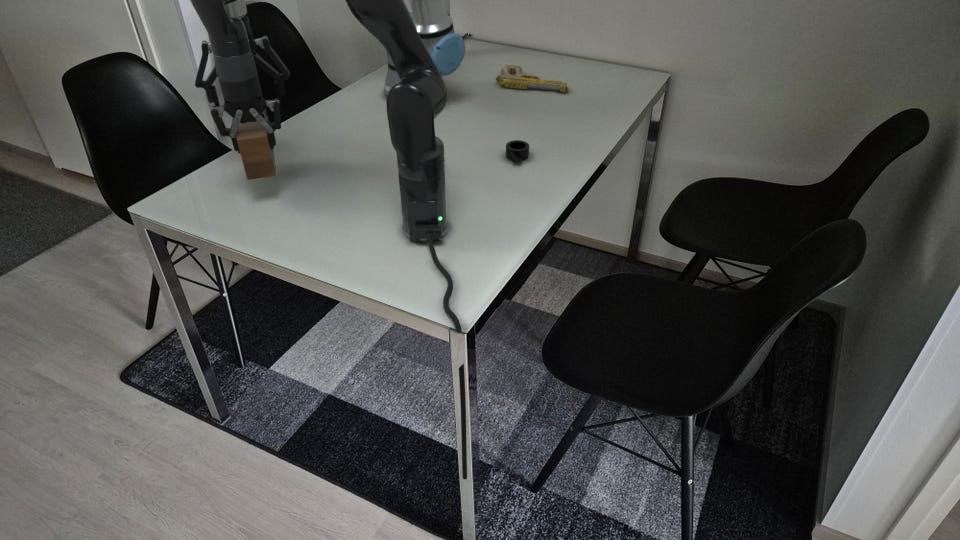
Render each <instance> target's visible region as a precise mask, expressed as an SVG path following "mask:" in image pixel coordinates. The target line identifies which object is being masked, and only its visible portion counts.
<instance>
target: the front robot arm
mask: <svg viewBox="0 0 960 540" xmlns="http://www.w3.org/2000/svg"><path fill="white" fill-rule="evenodd" d="M189 1H190V3H191V4H192V7H193V9H194V10H195V12H196V14H197V16H198V18H199V20H200V22H201V23H202V25H203V27H204V29H205V30H206V32H207V34H208V39H209V42H210V43H211V47H212V55H213V61H214V66H215V67H216V73H217V78H218V82H219V86H220V90H221V93H222V98H223V101H224V102H223V104H222V105H220V106H218V107H216V106H215V105H212V106H211V107H210V115H211V117H212V120H213V122H214V123H215V127H216V128H217V130H218V133H219V135H220V137H222V138H223V137H229V138H230V140H231V144H232V146H233V147H232V148H233V150H234V152H237V153H238V154H240V150H239V146H238V143H237V130H238V128H239V124H240V123H241V124H242V123H247V122H257V121H258V122H259V123H260V124H261V126H263V127H264V128H265V129H266V131H267V135H268V140H269V144H270V148H271V149H274V150H275V147H276V146H277V139H276V136H275V131H277V130H280V129H282V118H281V111H280V103H279V99H278V98H277V97H275V98H273V99H266V98H265V97H264V96H263V91H262V88H261V84H260V78H259V75H258V68H257V66H256V65H257V64H256V63H255V61H254V58H253V55H252V52H251V49H250V45H249V40H248V36H247V32H246V28H245V25H244V23H243V21H242V20H240V19H239V18H236V17H229V16H228V14H227V13H226V10H225V7H224V6H225V5H227V4H230V3H232V2H235V1H237V0H189ZM344 1H345V3H346V5H347V8H349V11H350V12H351V14H352V15H353V17H354V18H355V19H356V20H357V21H358V22H359V23H360V25H362V26H363V27H364V28H365V29H366V30H367V31H368V32H369V33H370V34H371V35H372V36H373V37H374V38H375V39H376V40H377V41H378V42H379V43H380V44H381V46H382V47H383V48H384V49H385V51H386V50H387V51H386V53H387V52H388V54H389V55H390V57H391V59H392V61H393V63H394V66H395V68H396V70H397V73H398V75H399V78H400V80H399V81H398V82H397V83H396V84H394V85H393V86H392V87H391V89H390V90H389V92H388V95H387V98H386V115H387V124H388V129H389V137H390V141H391V145H392V147H393V149H394V151H395V153H396V154H395V155H396V163H397V176H398V185H399V197H400V208H401V218H402V219H401V220H402V233H403V234H404V236H405V237H406V238H407V239H408V240H409V242H410V243H427V245H428V249H429V252H430V256H431V258H432V260H433V263H434V266H436V268H437V270H439V271H440V273H441V274H442V275H443V276H444V277H445V279H446V282H447V287H446V290H445V293H444V296H443V300H442V304H443V310H444V312H445V314H447V315H448V317H449V318H450V319H451V321H452V323H453V325H454V328H455V332H456V333H457V334H461V333H462V330H463V329H462V326H461V322H460V320H459V318H458V316H457V315H456V314H455V312H453V310H452V309H451V308H450V305H449V300H450V297H451V294H452V291H453V288H454V283H453V277H452V276H451V274H450V273H449V272H448V271H447V269H445V267H444V266H443V265H442V263H441V262H440V260H439V258H438V255H437V252H436V249H435V245H434V242H435V243H436V242H440V241H441V239H443V237H444V236H446V234H447V232H448V229H449V227H448V225H449V224H448V214H447V190H446V188H447V187H446V166H445V165H446V164H445V163H446V162H445V145H444V142H443V140H442V139H441V138H440V137H438V136H436V129H435V128H436V127H435V119H436V118H438V116H439V115H440V114H441V113H442V112H443V111H444V109H446V107H447V104H448V100H449V93H448V88H447V85H446V82H445V80H444V78H443V76H441V74H440V72H439V70H438V68H437V67H436V65H435V63H434V61H433V60H432V58H431V56H430V54H429V52H428V51H427V49H426V47H425V45H424V43H423V42H422V40H421V38H420V36H419V34H418V31H417V29H416V27H415V24H414V22H413V20H412V17H411V15H410V13H409V12H410V11H409V8H408V6H407V5H406V3H405V0H344ZM267 107H268V108H269V111H271V112H273V115H274V116H273V117H274V121H273V122H271V121H270V119H269V118H268V119H269V120H268V119H267V117H266V116H265V115H264V113H263V112H264V110H265V108H266V109H267ZM224 112H226V114H228V115H229V116H230V117H231V118H232V120H231V125H230V127H227V126H226V124H225V122H224V119H223V117H224ZM465 375H466V374H465V363H464V362H463V363H462V364H461V365H460V366H459V367H458V381H459V399H460V403H459V404H460V430H461V432H460V434H461V437H460V438H461V439H460V440H461V472H462V474H461V475H462V479H463V480H467V479H468V451H467V450H468V449H467V448H468V447H467V446H468V445H467V401H466V379H465V378H466V377H465Z"/></svg>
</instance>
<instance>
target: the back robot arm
mask: <svg viewBox="0 0 960 540" xmlns="http://www.w3.org/2000/svg"><path fill="white" fill-rule="evenodd" d="M409 3H410V7H411V8H410V9H411V11H409V13H410V15H411V17H412V20H413V22H414V24H415V27H416V29H417V31H418V34H419V36H420V38H421V40H422V42H423V43H424V45H425V47H426V49H427V51H428V52H429V54H430V56H431V58H432V60H433V61H434V63H435V65H436V67H437V68H438V70H439V72H440V74H441V76H442V77H446V76H450V75H451V74H453V73H454V72H456V70H458V69H459V68H460V66H461V63H462V62H463V61H464V59H465V53H466V44H465V41H464V40H465V38H466V37H467V36H468V37H472V34H471V33H469V32H467V33H465V34H464V35H462V37H461V36H460V34H458V33H455V27H454V21H453V18H452V16H451V15H450V16H449V15H447V14H446V13H445V7H444V1H443V0H409ZM224 7H225V10H226V13H227V14H228V16H229V17H236V18H239V19H240V20H242V21H243V23H244V25H245V28H246V32H247V36H248V40H249V45H250V49H251V52H252V55H253V58H254V61H255V65H257V66H258V67H260V68H261V69H262V70H263V71H264V72H266V73H267V74H268V75H269V76H270V77H272V79H274V80H273V82H274V87H275V92H276V98H277V99H279V103H280V112H283V111H284V105H283V101H282V96H286V89H285V83H284V82H285V81H286V80H289V79H291V72H290V70H289V69H288V67H287V66H286V65H285V64H284V62H283V61H282V58H280V56H279V55H278V54H277V52H276V51H275V50H274V49H273V47H272V46H271V43H270V41H269V37H268V36H267V35H262V37H259V38H254V36H253V33H252V27H251V23H250V19H249V16H248V15H247V14H248V8H247V4H246V0H237V1H235V2H232V3H230V4H227V5H225V6H224ZM468 33H469V35H468ZM256 46H259V48H261V49H262V50H263V49H264V51H265V52H266V54H267V55H268V56H269V58H270V59H271V61H272V62H273V63H274V65H276V67H277V69H278V70H279V71H278V70H277V69H276V68H274V67H273V66H272V65H271V64H270V63H268V62H267V61H266V60H265V59H264V58H262V56H260V55H259V53H258V52H256V51H255V49H256ZM385 51H386V60H387V73H386V77H385V83H384V86H383V93H384V94H383V95H384V97H385V98H386V99H387V95H388V92H389V90H390V89H391V87H392V86H393V85H394V84H396V83H397V82H398V81H399V80H400V78H399V75H398V73H397V70H396V68H395V66H394V63H393V61H392V59H391V57H390V55H389V54H388V52H387V50H386V49H385ZM209 54H213V51H212V47H211V43H210V41H209V42H208V41H207V40H202V41H201V56H200V57H201V58H200V61H199V65H198V69H197V73H196V77H195V82H194V87H196V88H197V89H203V90H204V91H205V93H206V97H207V102H209V104H214V106H216V107H218V106H221V104H220V100H219V96H218V93H217V89H216V85H214V83H215V81H216V80H217V78H218V76H217V73H216V67H215V65H214V66H213V68H212V70H211V71H210V73H209V74H208V76H207V78H206V80H204V76H205V71H206V68H207V64H208V60H209Z"/></svg>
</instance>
